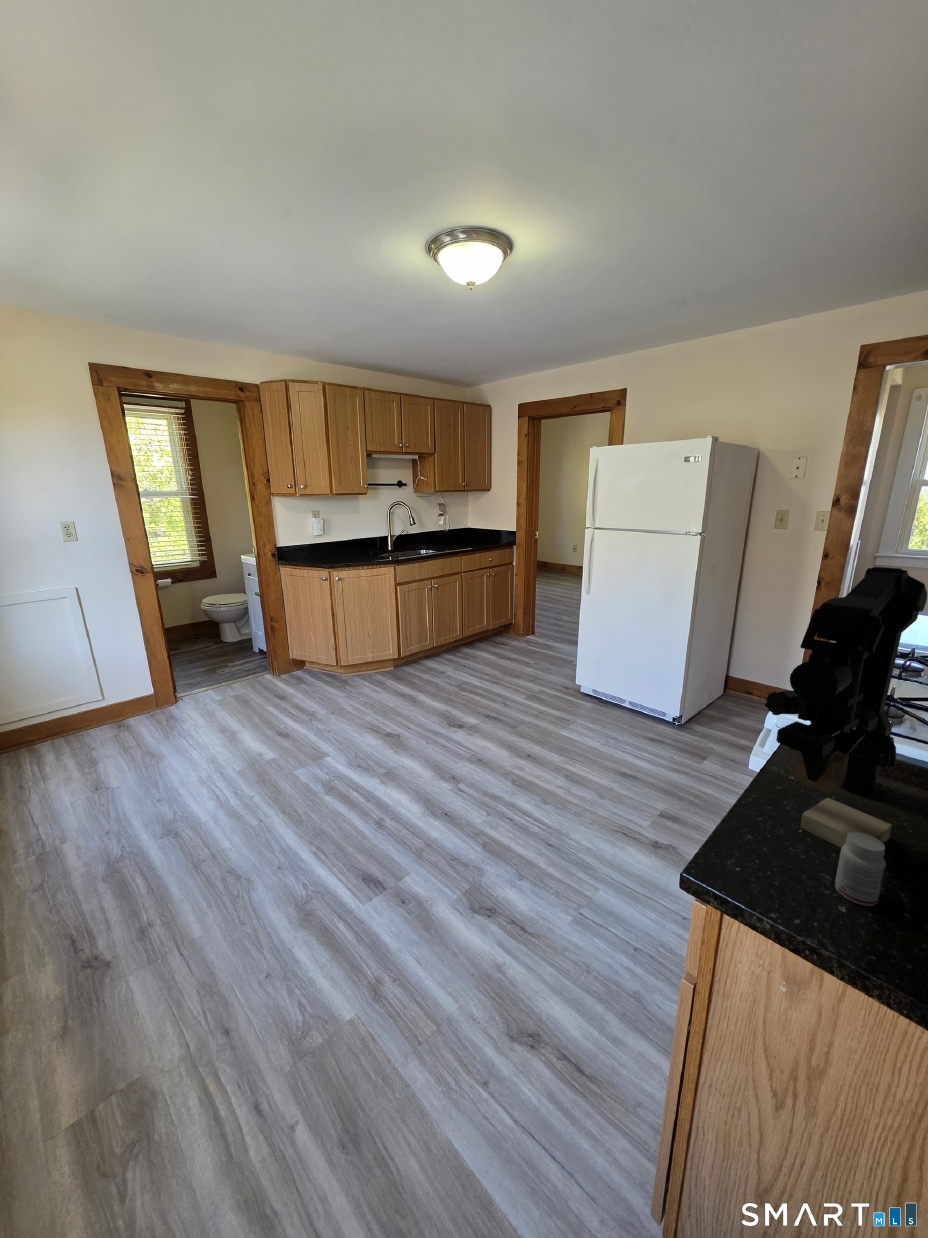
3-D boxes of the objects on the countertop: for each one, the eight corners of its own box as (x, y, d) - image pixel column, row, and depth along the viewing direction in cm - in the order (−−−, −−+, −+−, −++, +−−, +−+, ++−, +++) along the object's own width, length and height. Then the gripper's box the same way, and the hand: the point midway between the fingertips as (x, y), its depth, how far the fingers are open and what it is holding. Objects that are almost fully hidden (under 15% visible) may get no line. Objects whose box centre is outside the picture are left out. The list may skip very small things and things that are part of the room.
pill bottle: (886, 910, 64) (898, 855, 62) (846, 904, 65) (856, 850, 63) (865, 883, 68) (875, 832, 66) (827, 879, 69) (836, 828, 67)
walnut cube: (809, 769, 80) (813, 742, 79) (844, 783, 76) (849, 755, 75) (793, 778, 78) (797, 750, 77) (828, 793, 74) (833, 764, 73)
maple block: (825, 812, 85) (827, 797, 84) (888, 841, 78) (891, 824, 77) (799, 829, 81) (802, 813, 80) (864, 861, 73) (867, 844, 72)
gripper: (808, 660, 85) (796, 740, 88) (747, 681, 75) (737, 769, 79) (886, 678, 75) (870, 767, 79) (828, 705, 66) (812, 804, 70)
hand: (820, 775), depth 77 cm, fingers closed on walnut cube, 5 cm apart
